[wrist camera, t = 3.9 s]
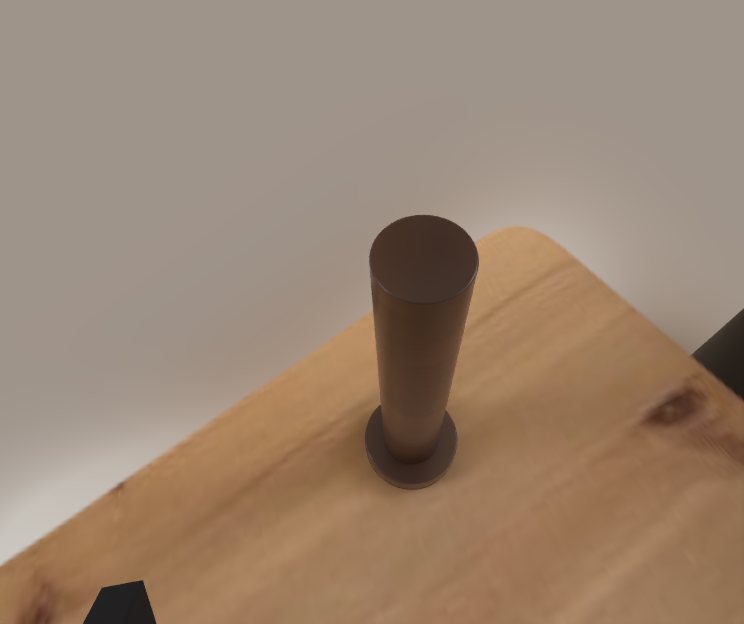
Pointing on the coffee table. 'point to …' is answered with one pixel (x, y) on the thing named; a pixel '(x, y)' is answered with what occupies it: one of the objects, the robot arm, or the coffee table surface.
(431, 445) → the cylinder with round base
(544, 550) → the coffee table surface
